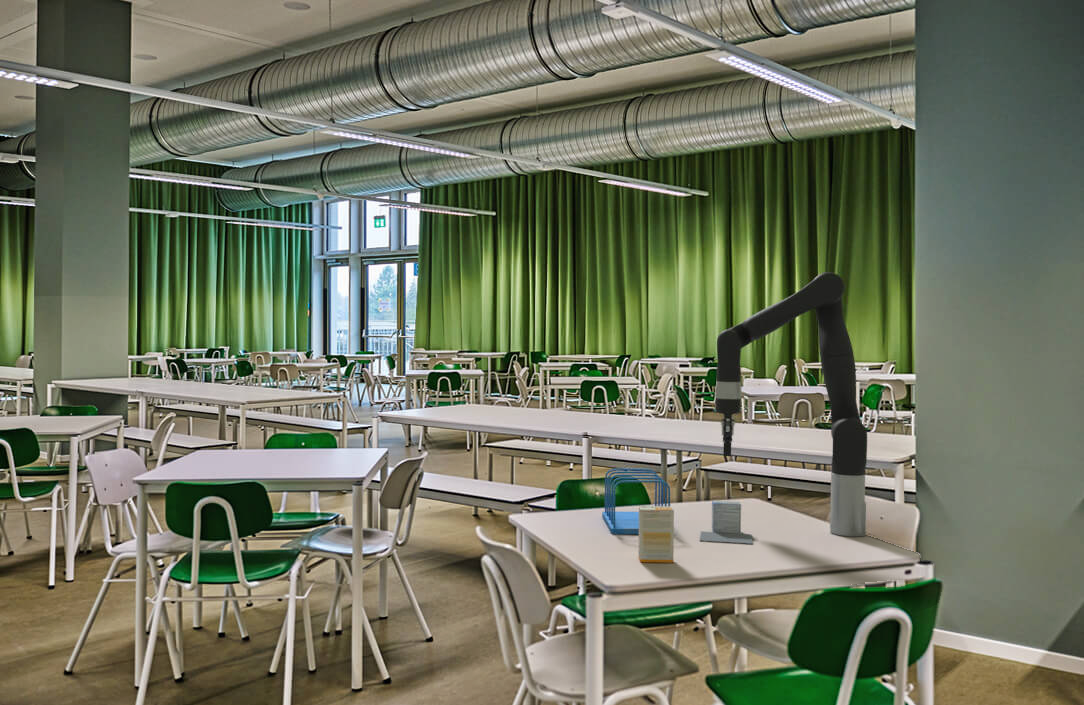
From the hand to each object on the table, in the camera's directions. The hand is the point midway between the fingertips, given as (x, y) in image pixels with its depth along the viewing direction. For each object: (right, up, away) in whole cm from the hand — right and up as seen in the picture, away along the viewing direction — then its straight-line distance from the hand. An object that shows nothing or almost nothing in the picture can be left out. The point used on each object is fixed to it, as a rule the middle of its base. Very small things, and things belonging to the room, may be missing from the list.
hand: (727, 455), depth 259 cm
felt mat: (-4, -21, -17) cm, 27 cm away
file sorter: (-27, -21, -1) cm, 34 cm away
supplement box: (-27, -21, -44) cm, 56 cm away
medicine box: (-2, -21, -9) cm, 23 cm away
